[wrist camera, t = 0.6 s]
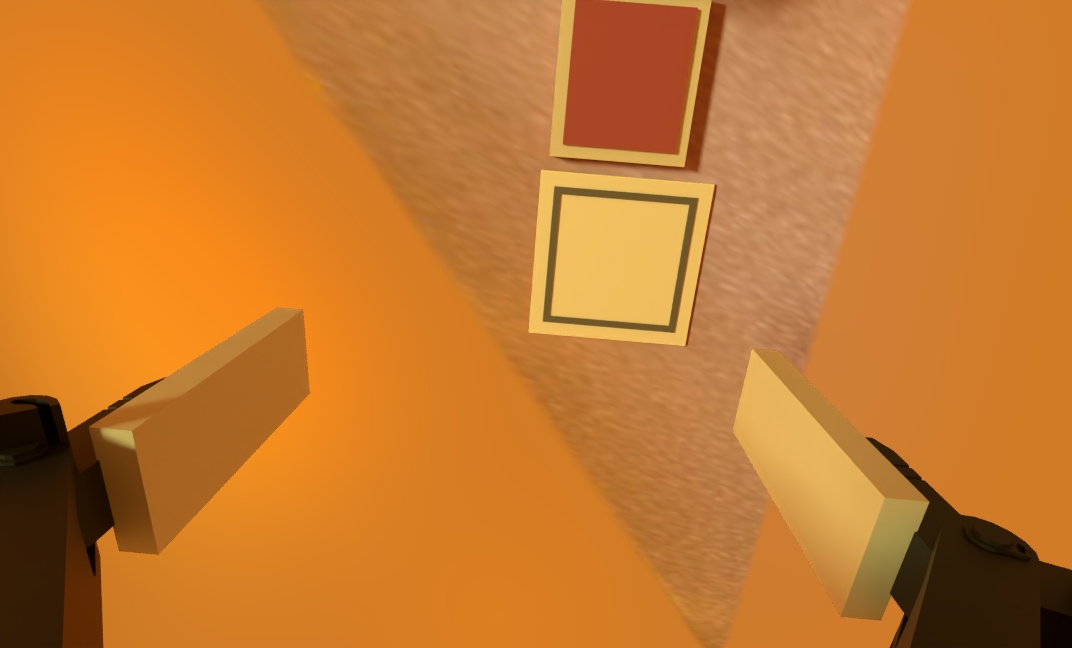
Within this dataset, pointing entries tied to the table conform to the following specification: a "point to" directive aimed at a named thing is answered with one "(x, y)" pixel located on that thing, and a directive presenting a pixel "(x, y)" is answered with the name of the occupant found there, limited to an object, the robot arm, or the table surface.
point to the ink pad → (627, 79)
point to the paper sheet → (617, 256)
